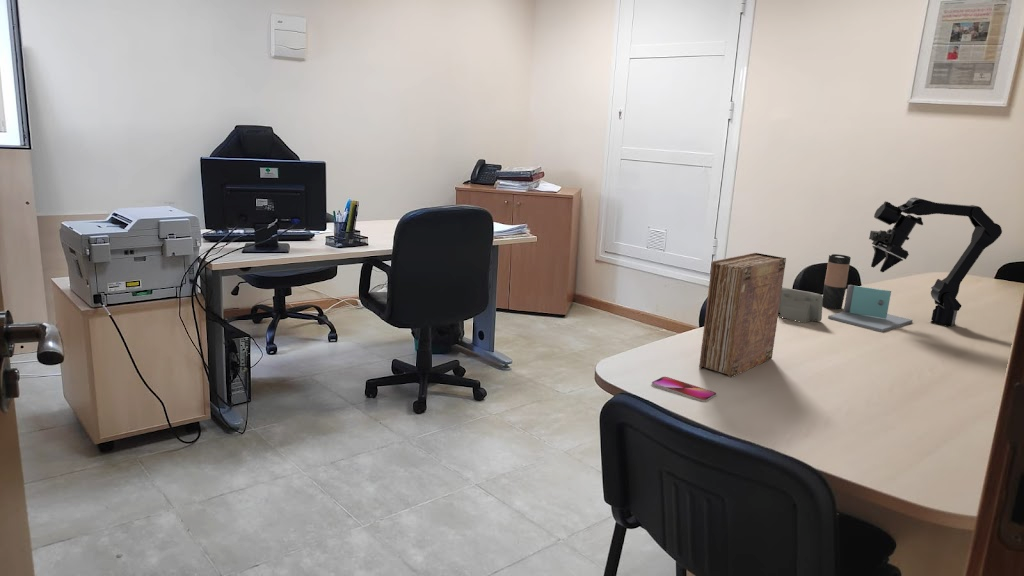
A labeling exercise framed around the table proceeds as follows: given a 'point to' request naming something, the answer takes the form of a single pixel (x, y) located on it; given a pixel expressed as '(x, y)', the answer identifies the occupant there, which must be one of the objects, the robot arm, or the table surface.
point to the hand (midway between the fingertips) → (876, 269)
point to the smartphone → (683, 389)
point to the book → (741, 312)
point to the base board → (871, 321)
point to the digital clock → (800, 305)
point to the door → (867, 301)
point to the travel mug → (835, 281)
